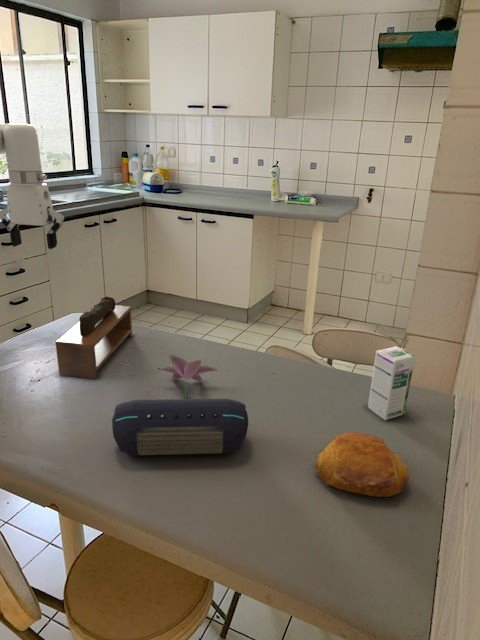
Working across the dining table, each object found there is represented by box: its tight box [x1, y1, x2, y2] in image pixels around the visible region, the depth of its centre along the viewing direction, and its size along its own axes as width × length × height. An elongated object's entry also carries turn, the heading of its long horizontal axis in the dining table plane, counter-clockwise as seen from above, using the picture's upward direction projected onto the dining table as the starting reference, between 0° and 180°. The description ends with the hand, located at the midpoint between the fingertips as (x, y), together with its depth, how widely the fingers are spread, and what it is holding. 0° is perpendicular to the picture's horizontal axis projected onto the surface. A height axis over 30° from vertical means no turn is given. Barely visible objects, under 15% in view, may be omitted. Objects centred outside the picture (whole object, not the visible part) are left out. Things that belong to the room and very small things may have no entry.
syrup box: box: [367, 345, 416, 421], centre depth 100 cm, size 6×6×14 cm
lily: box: [159, 354, 218, 399], centre depth 106 cm, size 12×12×10 cm
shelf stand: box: [54, 304, 133, 380], centre depth 121 cm, size 9×26×9 cm, turn 173°
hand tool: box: [79, 296, 117, 336], centre depth 118 cm, size 19×4×5 cm, turn 172°
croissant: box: [314, 431, 410, 498], centre depth 82 cm, size 14×16×8 cm
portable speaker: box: [111, 398, 249, 456], centre depth 86 cm, size 25×10×10 cm, turn 95°
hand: (34, 246), depth 120 cm, fingers open, 9 cm apart
